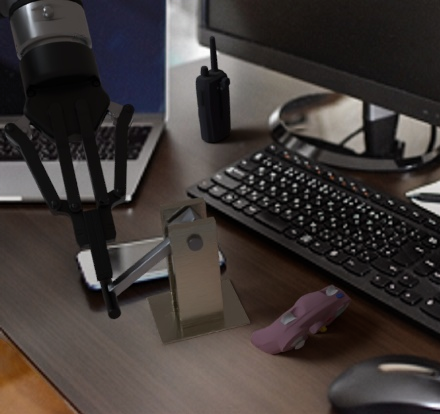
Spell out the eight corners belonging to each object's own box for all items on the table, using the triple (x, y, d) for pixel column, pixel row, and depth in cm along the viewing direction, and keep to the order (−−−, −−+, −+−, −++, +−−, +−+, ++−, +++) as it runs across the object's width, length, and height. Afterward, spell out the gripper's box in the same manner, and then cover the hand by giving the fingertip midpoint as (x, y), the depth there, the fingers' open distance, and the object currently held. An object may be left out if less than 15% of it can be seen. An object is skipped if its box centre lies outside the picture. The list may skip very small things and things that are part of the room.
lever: (118, 325, 79) (101, 311, 78) (107, 284, 85) (91, 270, 83) (216, 245, 79) (201, 230, 77) (198, 210, 84) (184, 195, 83)
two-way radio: (218, 127, 126) (211, 30, 118) (243, 133, 124) (237, 36, 116) (195, 141, 122) (186, 42, 114) (220, 148, 120) (212, 48, 112)
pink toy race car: (273, 378, 81) (294, 343, 76) (243, 343, 82) (262, 306, 77) (341, 330, 87) (366, 295, 82) (313, 298, 88) (335, 261, 83)
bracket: (163, 352, 82) (148, 244, 75) (147, 306, 88) (132, 202, 82) (251, 331, 85) (244, 224, 78) (229, 287, 91) (221, 185, 85)
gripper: (-16, 47, 80) (31, 285, 75) (121, 29, 84) (174, 254, 79) (-7, 80, 87) (37, 299, 82) (119, 61, 91) (169, 270, 86)
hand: (104, 276), depth 81 cm, fingers closed
